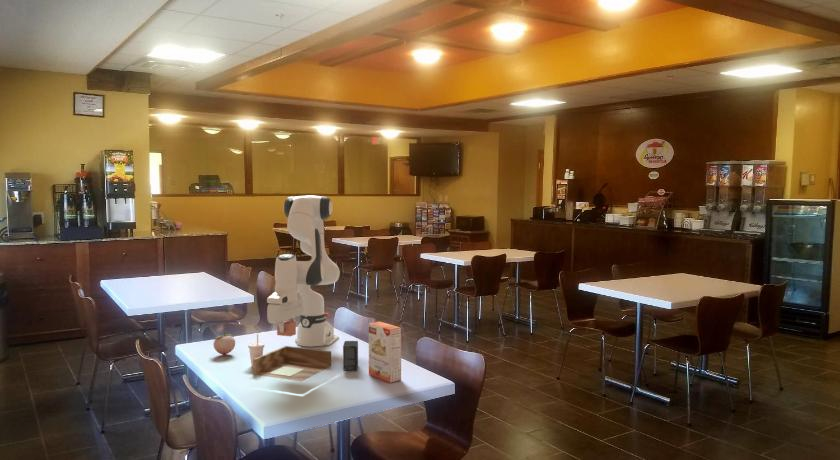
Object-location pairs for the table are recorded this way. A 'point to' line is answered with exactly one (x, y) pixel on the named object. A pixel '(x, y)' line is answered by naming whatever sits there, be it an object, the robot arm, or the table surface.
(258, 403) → the table surface
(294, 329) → the block
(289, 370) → the pad
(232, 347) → the decorative fruit
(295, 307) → the robot arm
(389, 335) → the cracker box
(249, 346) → the smoothie
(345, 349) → the box
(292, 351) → the arena
